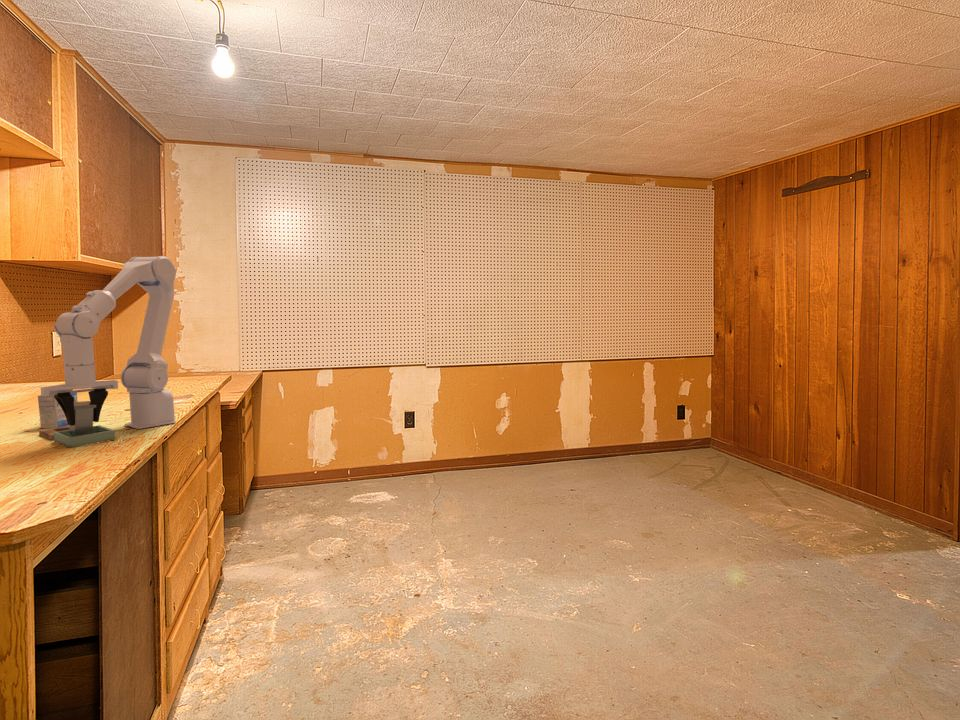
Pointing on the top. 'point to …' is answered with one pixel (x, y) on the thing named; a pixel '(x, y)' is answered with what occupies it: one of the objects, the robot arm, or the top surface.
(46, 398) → the medicine box
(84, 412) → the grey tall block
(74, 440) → the tray
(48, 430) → the collar
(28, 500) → the top surface
